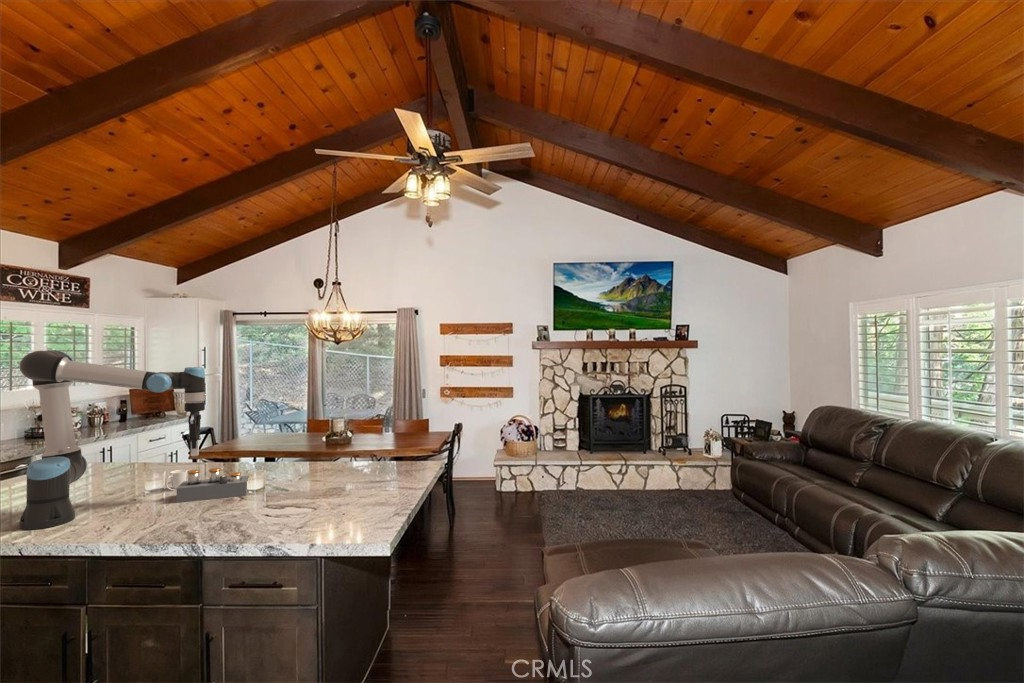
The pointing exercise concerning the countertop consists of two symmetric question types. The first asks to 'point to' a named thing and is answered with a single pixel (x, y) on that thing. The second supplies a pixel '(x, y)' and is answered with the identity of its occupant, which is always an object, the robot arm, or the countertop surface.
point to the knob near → (193, 477)
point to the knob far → (235, 476)
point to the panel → (211, 490)
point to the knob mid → (214, 475)
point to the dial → (223, 479)
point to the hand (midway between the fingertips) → (194, 455)
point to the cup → (177, 478)
